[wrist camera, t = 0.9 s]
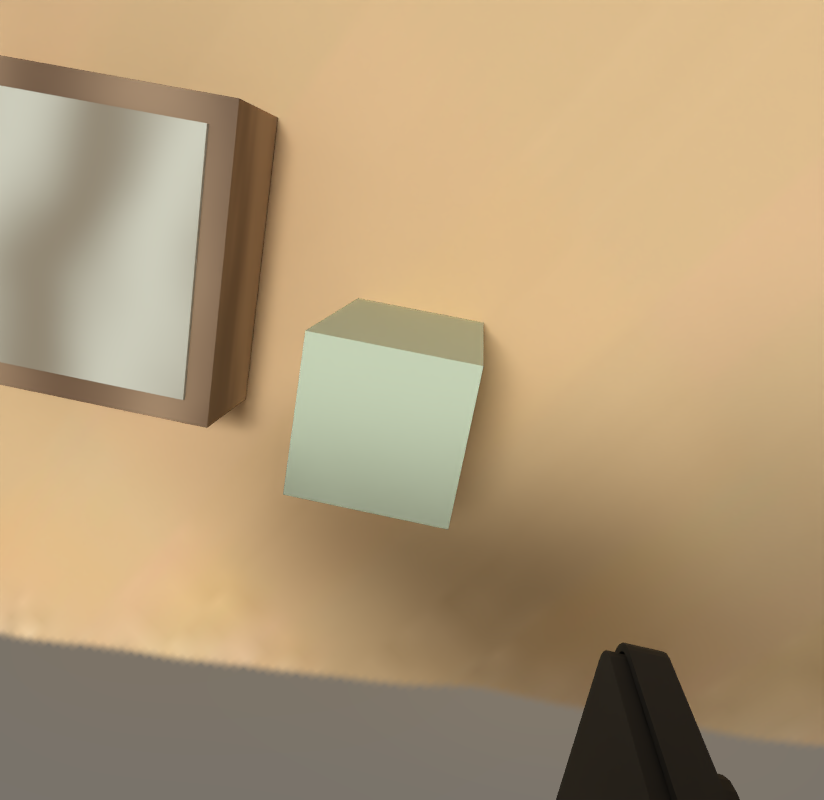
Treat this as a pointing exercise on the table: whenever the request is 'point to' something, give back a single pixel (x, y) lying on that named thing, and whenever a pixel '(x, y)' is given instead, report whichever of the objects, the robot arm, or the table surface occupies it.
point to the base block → (129, 240)
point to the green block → (385, 411)
